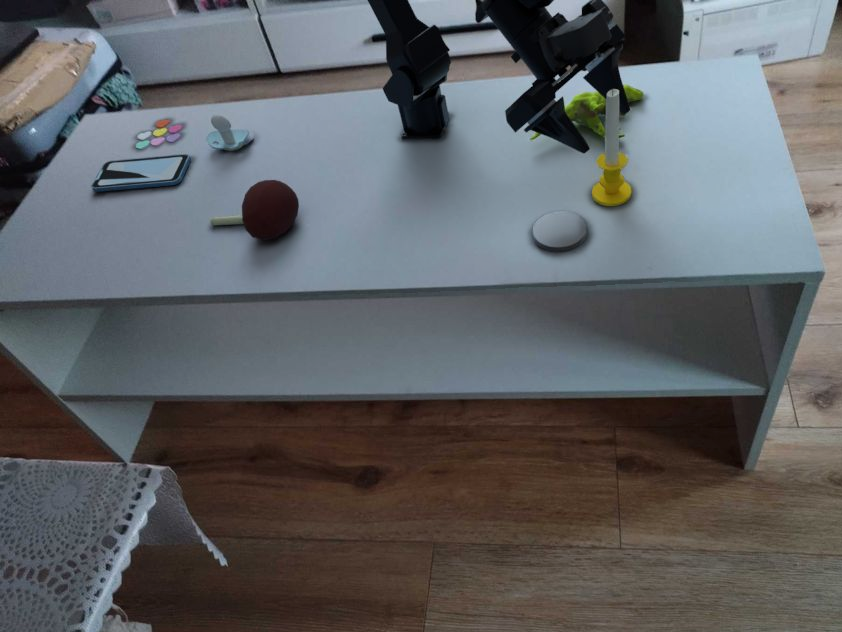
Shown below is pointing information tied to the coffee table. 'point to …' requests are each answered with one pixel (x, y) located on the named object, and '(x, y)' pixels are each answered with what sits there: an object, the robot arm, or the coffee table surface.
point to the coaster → (559, 231)
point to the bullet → (226, 220)
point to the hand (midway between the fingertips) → (607, 131)
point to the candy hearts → (159, 133)
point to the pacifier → (227, 135)
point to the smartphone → (141, 172)
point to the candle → (612, 160)
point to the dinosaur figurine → (594, 109)
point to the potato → (269, 209)
